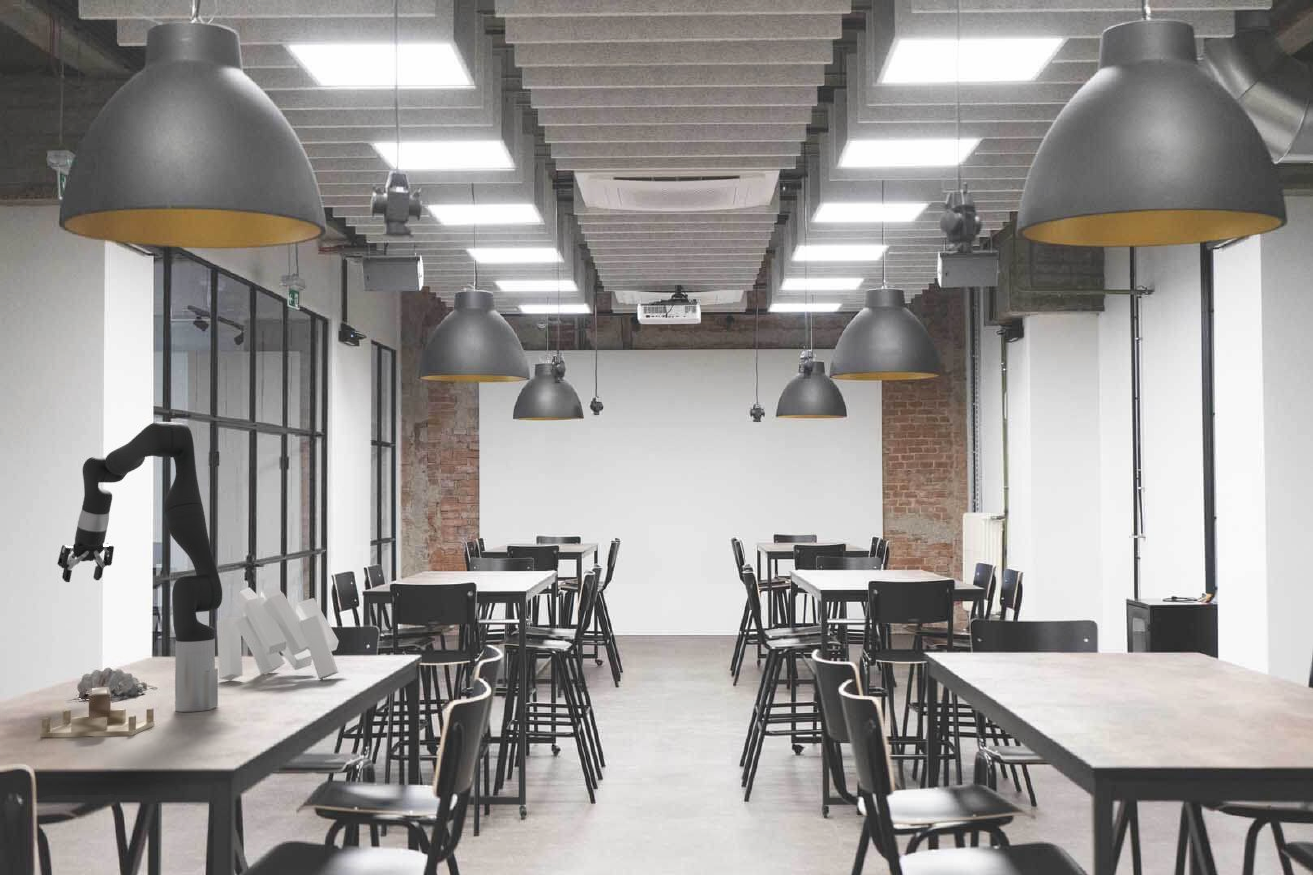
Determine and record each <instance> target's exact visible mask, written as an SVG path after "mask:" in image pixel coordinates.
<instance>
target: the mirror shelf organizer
mask: <svg viewBox="0 0 1313 875" xmlns="http://www.w3.org/2000/svg"><path fill="white" fill-rule="evenodd" d="M126 711H127V709H126V708H113V709H112V708H111V709H110V717H101V718H90V719H89V716H75V717H72V714H71V713H72V710H71V709H67V710H63V712H62V716H63V717H62V724H61V725H59V726H56V727H54V728H51V717H43V718H42V719H41V732H40V738H41V737H53V738H83V737H82V736H94V737H115V736H116V737H121V736H123V737H125V736H126V737H127V736H128V737H130V736H131V737H133V736H134V735H136V734H139V733H141V732H143V731H145V730H148V729H149V728H152V727H154V726H155V720H154V711H155V710H154V707H151V708H146V720H137V715H130V716H128V721H126V720H127V719H126V717H127V716H126V715H127V714H126V713H127V712H126Z"/></svg>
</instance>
